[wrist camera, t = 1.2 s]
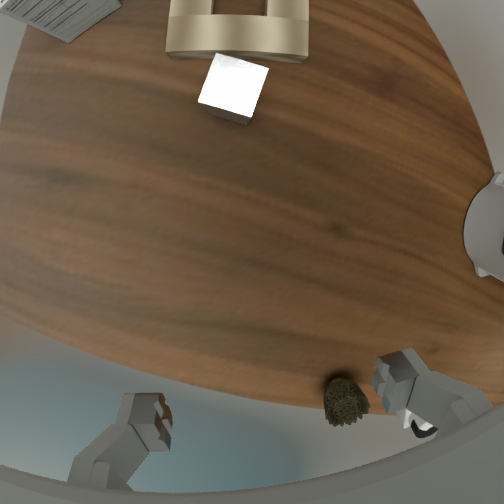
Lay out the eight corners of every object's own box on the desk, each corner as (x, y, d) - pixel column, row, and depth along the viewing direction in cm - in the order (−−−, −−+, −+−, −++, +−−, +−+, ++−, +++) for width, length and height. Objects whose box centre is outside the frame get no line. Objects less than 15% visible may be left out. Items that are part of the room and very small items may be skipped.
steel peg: (257, 93, 35) (268, 68, 22) (245, 125, 36) (251, 117, 23) (222, 82, 34) (216, 52, 21) (211, 115, 36) (198, 101, 22)
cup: (310, 377, 50) (320, 410, 43) (350, 359, 50) (365, 390, 42) (323, 400, 53) (333, 432, 45) (360, 384, 52) (373, 415, 44)
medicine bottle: (420, 393, 55) (444, 432, 44) (391, 405, 55) (412, 447, 44) (423, 371, 53) (450, 411, 41) (392, 384, 53) (416, 427, 42)
